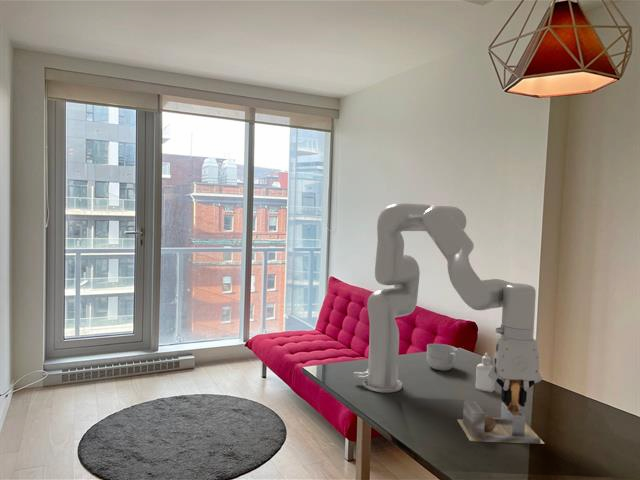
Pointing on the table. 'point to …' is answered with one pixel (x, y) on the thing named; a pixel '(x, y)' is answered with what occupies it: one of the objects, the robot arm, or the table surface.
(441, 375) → the table surface
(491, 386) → the eye dropper bottle
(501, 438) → the board
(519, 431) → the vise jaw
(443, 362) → the teacup
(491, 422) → the walnut
